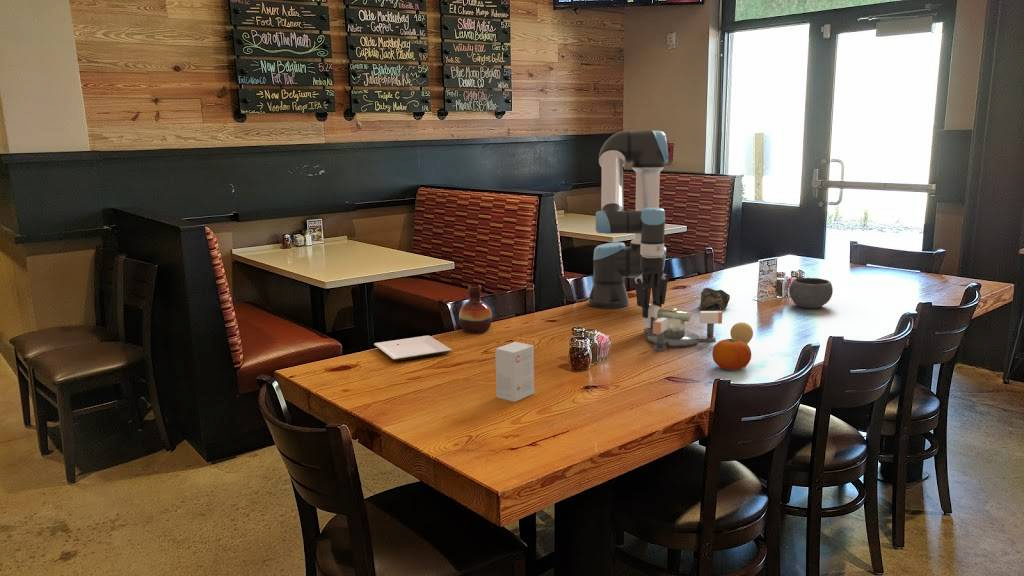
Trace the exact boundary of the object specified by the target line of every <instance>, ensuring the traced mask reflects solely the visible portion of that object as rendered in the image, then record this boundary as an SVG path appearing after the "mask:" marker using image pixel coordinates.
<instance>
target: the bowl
mask: <svg viewBox="0 0 1024 576" xmlns="http://www.w3.org/2000/svg"><path fill="white" fill-rule="evenodd" d="M833 291H834V289H833V285H832V282H831V281H830V280H827V279H823V278H819V277H799V278H794V279H793V280H792V281H791V283H790V285H789V296H790V298H791V300H792V302H793V303H794V304H795V305H796V306H798V307H800V308H805V309H817V308H820V307H823V306H824V305H826V304H828V303H829V301H831V299H832V297H833Z"/></svg>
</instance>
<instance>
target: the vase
mask: <svg viewBox="0 0 1024 576" xmlns="http://www.w3.org/2000/svg"><path fill="white" fill-rule="evenodd" d="M481 289H482V285H480V284H469V285H468V294H469V295H468V296H469V297H468V298H469V299H468V301H467V302H465V303H464V304H462V306H461V308H460V310H459V313H458V321H459V325H460V328H461V330H463V332H465V333H467V334H482V333H486V332H487V331H488V330H489V329H490V327H491V325H492V319H493V314H492V310H491V308H490V306H489V305H488V304H487V303H486V302H484V301H483V300H482V299H481V295H482V294H481V293H482V291H481Z"/></svg>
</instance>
